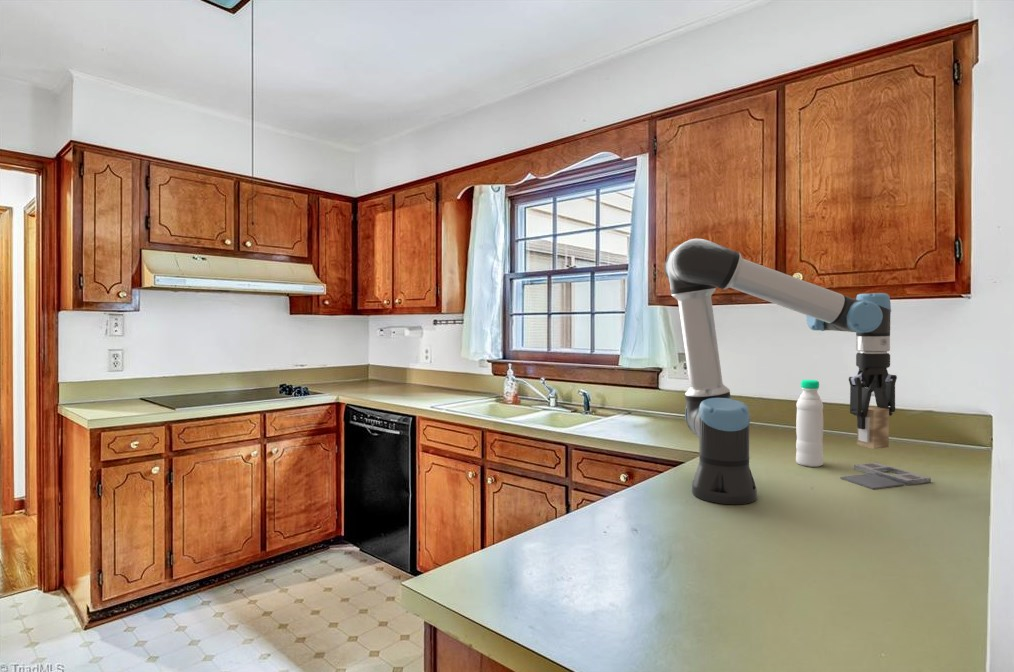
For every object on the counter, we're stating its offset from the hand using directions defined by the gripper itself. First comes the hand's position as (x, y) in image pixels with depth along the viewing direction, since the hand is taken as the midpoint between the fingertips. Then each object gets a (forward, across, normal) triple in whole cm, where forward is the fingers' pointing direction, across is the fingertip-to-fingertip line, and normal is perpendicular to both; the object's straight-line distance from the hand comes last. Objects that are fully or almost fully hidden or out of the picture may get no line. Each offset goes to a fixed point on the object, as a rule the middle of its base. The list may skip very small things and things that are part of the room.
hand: (872, 440), depth 150 cm
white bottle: (+11, -2, +19) cm, 22 cm away
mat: (+11, 0, 0) cm, 11 cm away
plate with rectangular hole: (+11, +10, +3) cm, 15 cm away
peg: (+2, 0, 0) cm, 2 cm away
